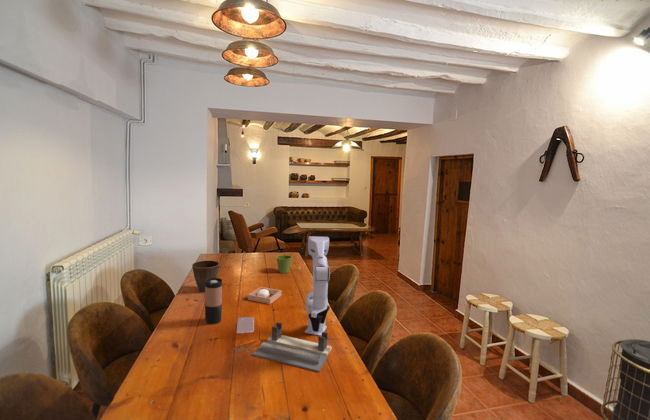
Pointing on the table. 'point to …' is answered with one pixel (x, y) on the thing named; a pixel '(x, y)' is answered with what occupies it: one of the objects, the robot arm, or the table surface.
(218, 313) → the travel mug
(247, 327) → the mobile phone
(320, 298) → the robot arm
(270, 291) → the garlic dish
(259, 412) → the table surface
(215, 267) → the plant pot
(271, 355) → the mat
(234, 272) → the table surface
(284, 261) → the plant pot
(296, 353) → the rail
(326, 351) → the hook stand
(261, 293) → the garlic
